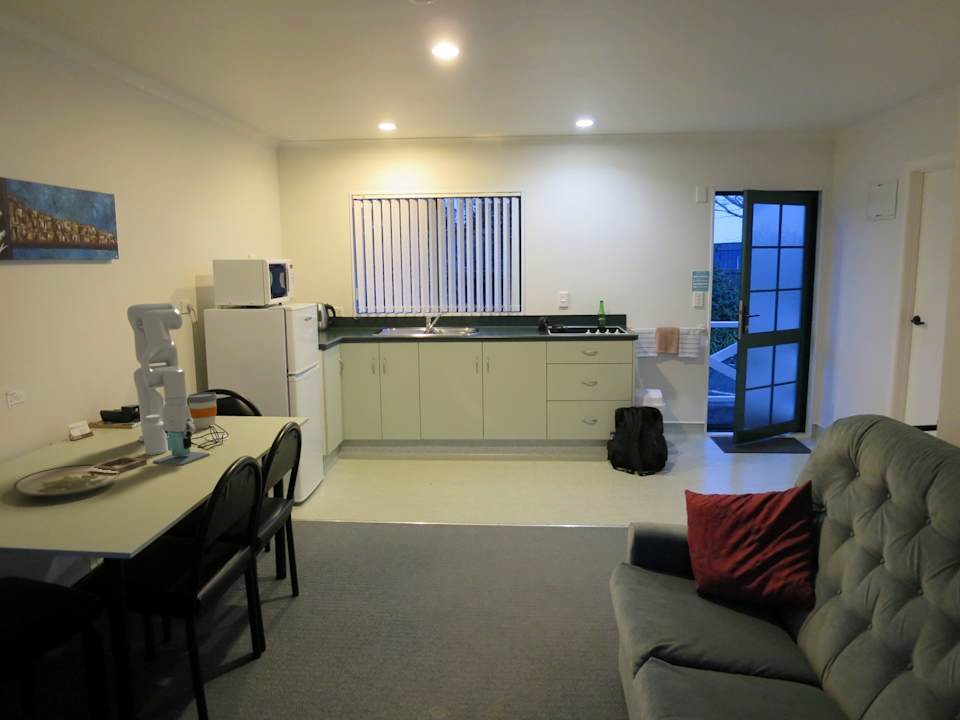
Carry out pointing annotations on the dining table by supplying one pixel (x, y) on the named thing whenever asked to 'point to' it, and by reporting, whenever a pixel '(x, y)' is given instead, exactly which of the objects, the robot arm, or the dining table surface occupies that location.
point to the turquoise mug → (177, 444)
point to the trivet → (181, 459)
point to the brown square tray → (129, 462)
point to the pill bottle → (154, 435)
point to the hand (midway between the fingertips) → (180, 446)
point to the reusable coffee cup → (203, 409)
